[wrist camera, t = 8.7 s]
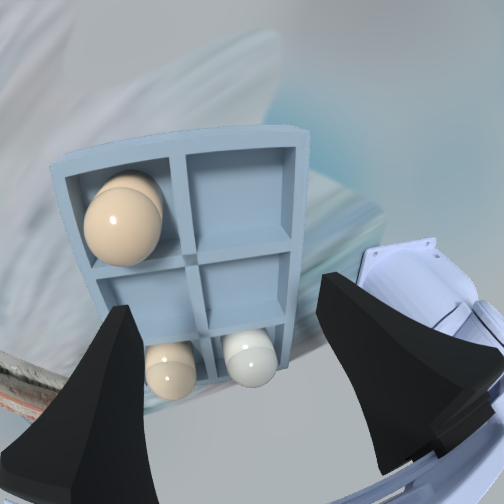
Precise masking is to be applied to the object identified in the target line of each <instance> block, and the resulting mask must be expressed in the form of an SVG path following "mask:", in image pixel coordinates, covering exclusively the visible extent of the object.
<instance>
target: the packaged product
mask: <svg viewBox="0 0 504 504" xmlns="http://www.w3.org/2000/svg"><path fill="white" fill-rule="evenodd" d="M68 379H69V378H67V377H64V376H61V375H58V374H55V373H53V372H50V371H47V370H45V369H42V368H40V367H37V366H35V365H33V364H30V363H28V362H25V361H23V360H20V359H18V358H16V357H14V356H11V355H9V354H7V353H5V352H2V351H0V406H2V407H5V408H6V409H8V410H10V411H13V412H15V413H17V414H19V415H22V416H24V417H27V418H29V419H31V420H33V421H36V420H37V418H38V417H39V416H40V415H41V414H42V413H43V412H44V410H45V409H46V408H47V407H48V406H49V404H50V403H51V402H52V401H53V400H54V398H55V397H56V396H57V395H58V393H59V392H60V391H61V389H62V388H63V387H64V385H65V384H66V382H67V381H68Z"/></svg>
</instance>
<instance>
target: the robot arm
mask: <svg viewBox="0 0 504 504" xmlns="http://www.w3.org/2000/svg"><path fill="white" fill-rule="evenodd" d="M435 245H436V239H435V238H434V237H430V238H425V239H419V240H414V241H408V242H403V243H397V244H392V245H385V246H380V247H374V248H369V249H367V250H366V251H365V253H364V256H363V260H362V265H361V269H360V273H359V277H358V281H357V285H356V284H355V283H353V282H352V281H350V280H349V279H347V278H346V277H344V276H343V275H341V274H339V273H338V272H333V273H327V274H322V280H321V286H320V292H319V298H318V303H317V309H316V315H317V318H318V320H319V323H320V325H321V328H322V330H323V333H324V335H325V337H326V339H327V340H328V342H329V344H330V346H331V347H332V349H333V351H334V353H335V355H336V356H337V358H338V360H339V362H340V363H341V365H342V367H343V369H344V370H345V372H346V374H347V376H348V378H349V380H350V381H351V384H352V386H353V388H354V390H355V393H356V395H357V398H358V400H359V403H360V405H361V408H362V411H363V414H364V416H365V419H366V422H367V425H368V428H369V432H370V435H371V438H372V442H373V446H374V450H375V454H376V458H377V463H378V468H379V470H380V471H381V474H382V475H386V474H388V473H390V472H391V471H393V470H395V469H397V468H399V467H401V466H402V465H404V464H406V463H408V462H409V461H411V460H412V461H413V464H411V465H409V466H407V467H406V468H404V469H402V470H400V471H398V472H397V473H395V474H393V475H391V476H389V477H387V478H385V479H383V480H382V481H379V482H377V483H375V484H373V485H371V486H369V487H367V488H365V489H362V490H360V491H358V492H356V493H353V494H351V495H349V496H346V497H344V498H341V499H339V500H336V501H333V502H331V503H328V504H371V503H373V502H375V501H377V500H379V499H381V498H383V497H385V496H387V495H389V494H391V493H393V492H395V491H396V490H398V489H400V488H402V487H404V486H405V485H406V486H405V490H404V492H402V493H400V494H398V495H396V496H393V497H391V498H389V499H387V500H385V501H383V502H381V503H379V504H477V503H478V501H479V500H480V499H481V498H482V497H483V495H484V494H485V493H486V492H487V490H488V489H489V488H490V487H491V485H492V484H493V483H494V481H495V480H496V479H497V477H498V476H499V475H500V473H501V472H502V470H503V469H504V317H503V316H502V315H501V314H500V313H499V312H498V311H497V310H496V309H495V308H494V307H493V306H492V305H491V304H489V303H488V302H487V301H486V300H481V301H478V295H477V291H476V288H475V286H474V284H473V283H472V281H471V279H470V278H469V277H468V276H467V275H466V274H465V273H464V272H462V271H461V270H460V269H459V268H458V267H457V266H456V265H455V264H453V263H452V262H451V261H450V260H449V259H448V258H447V257H445V256H444V255H443V254H442V253H441V252H440V251H438V250H437V249H436V248H435ZM144 378H145V357H144V342H143V339H142V337H141V335H140V332H139V330H138V328H137V325H136V323H135V320H134V318H133V315H132V313H131V310H130V307H129V305H119V306H113V307H112V309H111V310H110V312H109V313H108V315H107V317H106V318H105V320H104V322H103V324H102V325H101V327H100V329H99V331H98V332H97V334H96V336H95V338H94V339H93V341H92V343H91V344H90V346H89V348H88V349H87V351H86V353H85V355H84V356H83V358H82V359H81V361H80V362H79V364H78V366H77V367H76V369H75V370H74V372H73V374H72V375H71V377H70V378H69V379H68V381H67V382H66V384H65V385H64V387H63V388H62V389H61V391H60V392H59V393H58V395H57V396H56V397H55V398H54V400H53V401H52V402H51V403H50V404H49V406H48V407H47V408H46V409H45V410H44V412H43V413H42V414H41V415H40V416H39V417H38V418H37V420H36V421H35V422H34V423H33V424H32V425H31V426H30V427H29V428H28V429H27V430H26V431H25V432H24V433H23V434H22V435H21V436H20V437H19V438H17V439H16V440H15V441H14V442H13V443H12V444H11V445H9V446H8V447H7V448H6V449H5V450H3V451H2V452H1V456H0V488H1V489H2V490H4V491H6V492H8V493H10V494H12V495H15V496H17V497H19V498H21V499H24V500H26V501H29V502H31V503H34V504H159V502H158V498H157V495H156V491H155V488H154V483H153V479H152V475H151V471H150V465H149V461H148V455H147V448H146V441H145V433H144V420H143V411H144ZM4 504H17V503H15V502H12V501H9V500H7V499H5V500H4Z"/></svg>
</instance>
